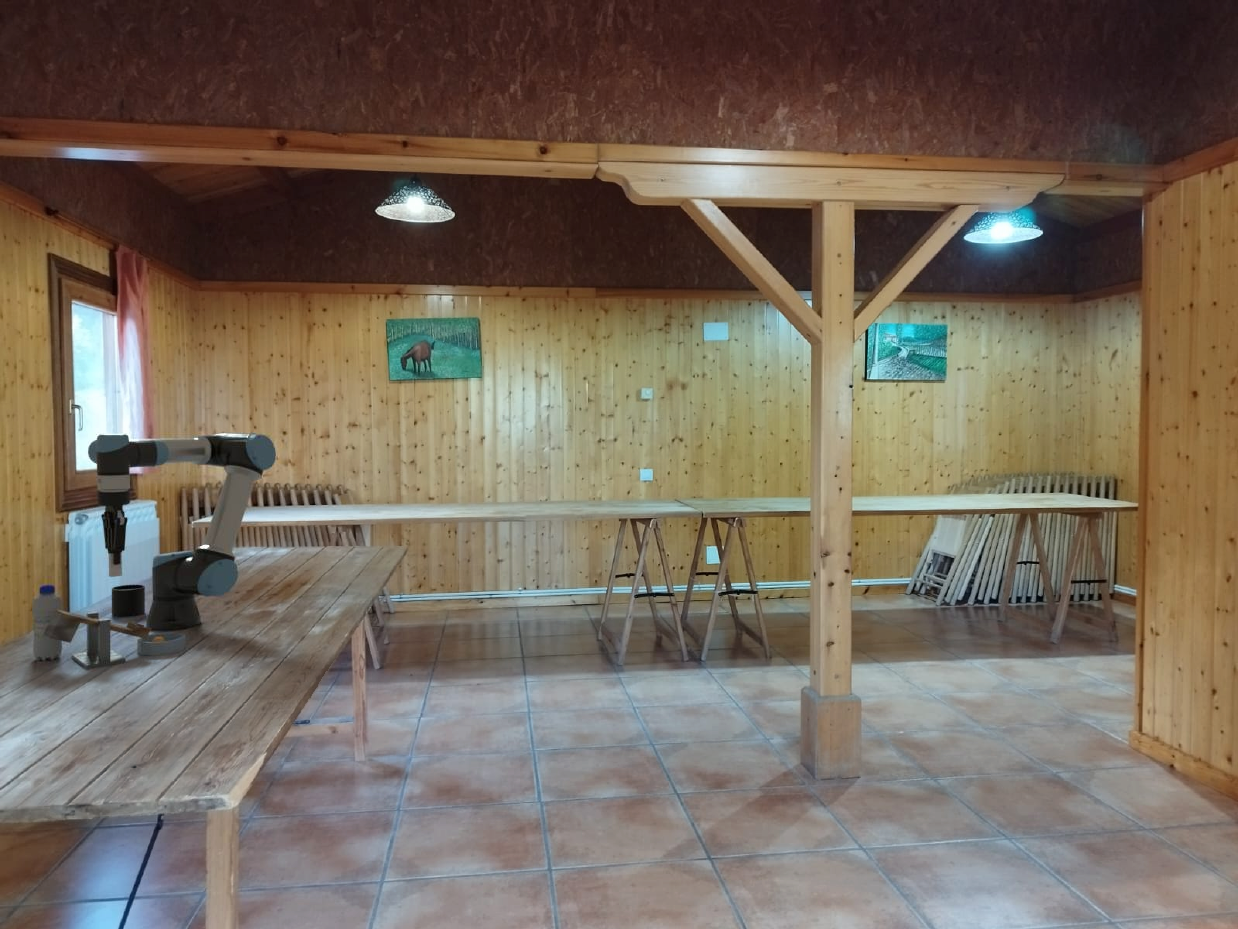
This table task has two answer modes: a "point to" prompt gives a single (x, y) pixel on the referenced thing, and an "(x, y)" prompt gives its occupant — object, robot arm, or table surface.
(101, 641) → the fulcrum
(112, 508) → the robot arm
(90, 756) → the table surface
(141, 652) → the bowl
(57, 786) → the table surface
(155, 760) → the table surface
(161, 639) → the ball
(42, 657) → the bottle
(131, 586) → the mug
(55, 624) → the lever
